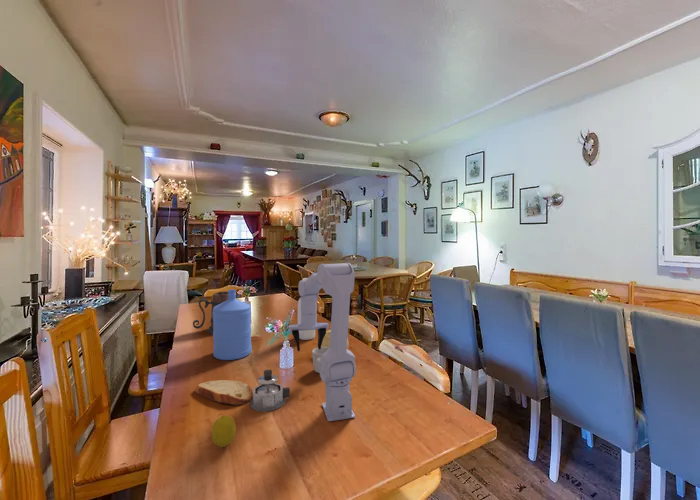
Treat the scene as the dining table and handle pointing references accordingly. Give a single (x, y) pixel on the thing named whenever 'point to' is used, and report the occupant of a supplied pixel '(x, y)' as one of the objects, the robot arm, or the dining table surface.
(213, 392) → the slice of bread
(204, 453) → the dining table surface
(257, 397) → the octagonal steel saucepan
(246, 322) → the water jug
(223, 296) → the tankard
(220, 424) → the lemon
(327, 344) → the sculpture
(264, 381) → the silver rounded piece
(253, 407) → the round metal disc
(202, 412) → the dining table surface
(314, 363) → the cup
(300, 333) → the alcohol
